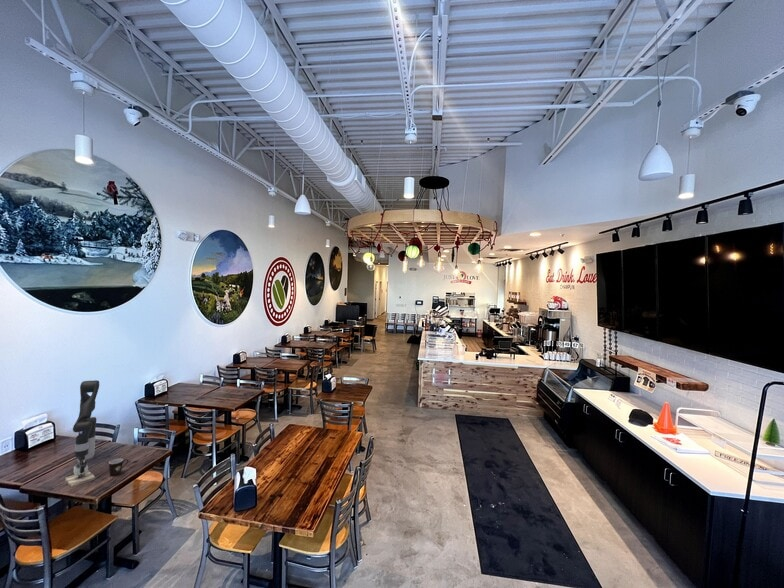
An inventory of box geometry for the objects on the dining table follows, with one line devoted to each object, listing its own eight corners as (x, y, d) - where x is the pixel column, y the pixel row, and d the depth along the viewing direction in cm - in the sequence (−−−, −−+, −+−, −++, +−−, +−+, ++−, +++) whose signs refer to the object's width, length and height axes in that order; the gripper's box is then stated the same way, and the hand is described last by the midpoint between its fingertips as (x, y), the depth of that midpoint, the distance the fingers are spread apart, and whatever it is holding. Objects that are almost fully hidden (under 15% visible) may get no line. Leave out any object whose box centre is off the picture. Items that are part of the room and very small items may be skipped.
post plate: (65, 479, 242) (65, 470, 242) (88, 472, 252) (88, 463, 253) (71, 487, 233) (71, 478, 233) (95, 479, 244) (95, 470, 244)
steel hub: (73, 473, 242) (73, 466, 242) (84, 469, 247) (85, 462, 247) (76, 475, 238) (76, 468, 238) (87, 472, 244) (88, 465, 244)
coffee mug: (107, 478, 245) (108, 465, 245) (108, 473, 252) (109, 460, 252) (127, 474, 252) (127, 461, 252) (128, 469, 259) (128, 456, 259)
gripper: (91, 449, 242) (90, 472, 242) (85, 444, 250) (84, 466, 250) (78, 453, 236) (76, 476, 236) (72, 447, 244) (70, 470, 243)
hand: (80, 471), depth 243 cm, fingers closed on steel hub, 6 cm apart
